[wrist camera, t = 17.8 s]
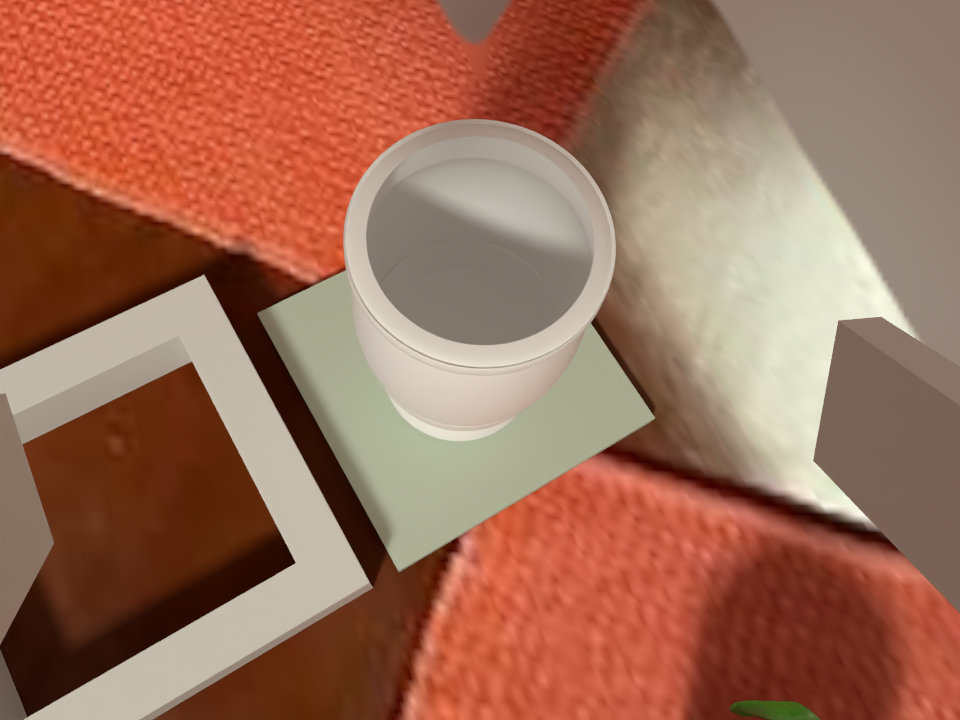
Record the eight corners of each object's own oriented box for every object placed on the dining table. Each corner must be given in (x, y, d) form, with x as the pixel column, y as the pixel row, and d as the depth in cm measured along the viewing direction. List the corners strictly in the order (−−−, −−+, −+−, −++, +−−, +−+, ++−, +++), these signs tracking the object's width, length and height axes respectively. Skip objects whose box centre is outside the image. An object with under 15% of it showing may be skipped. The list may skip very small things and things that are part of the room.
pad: (259, 318, 45) (257, 313, 44) (501, 200, 49) (503, 193, 48) (399, 572, 41) (398, 570, 40) (650, 421, 45) (655, 417, 44)
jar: (383, 266, 46) (371, 96, 32) (561, 296, 46) (628, 140, 32) (345, 445, 42) (313, 343, 28) (540, 477, 42) (605, 392, 28)
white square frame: (-132, 469, 40) (-180, 453, 37) (219, 302, 45) (204, 274, 42) (-3, 812, 36) (-45, 828, 33) (372, 587, 40) (369, 582, 37)
